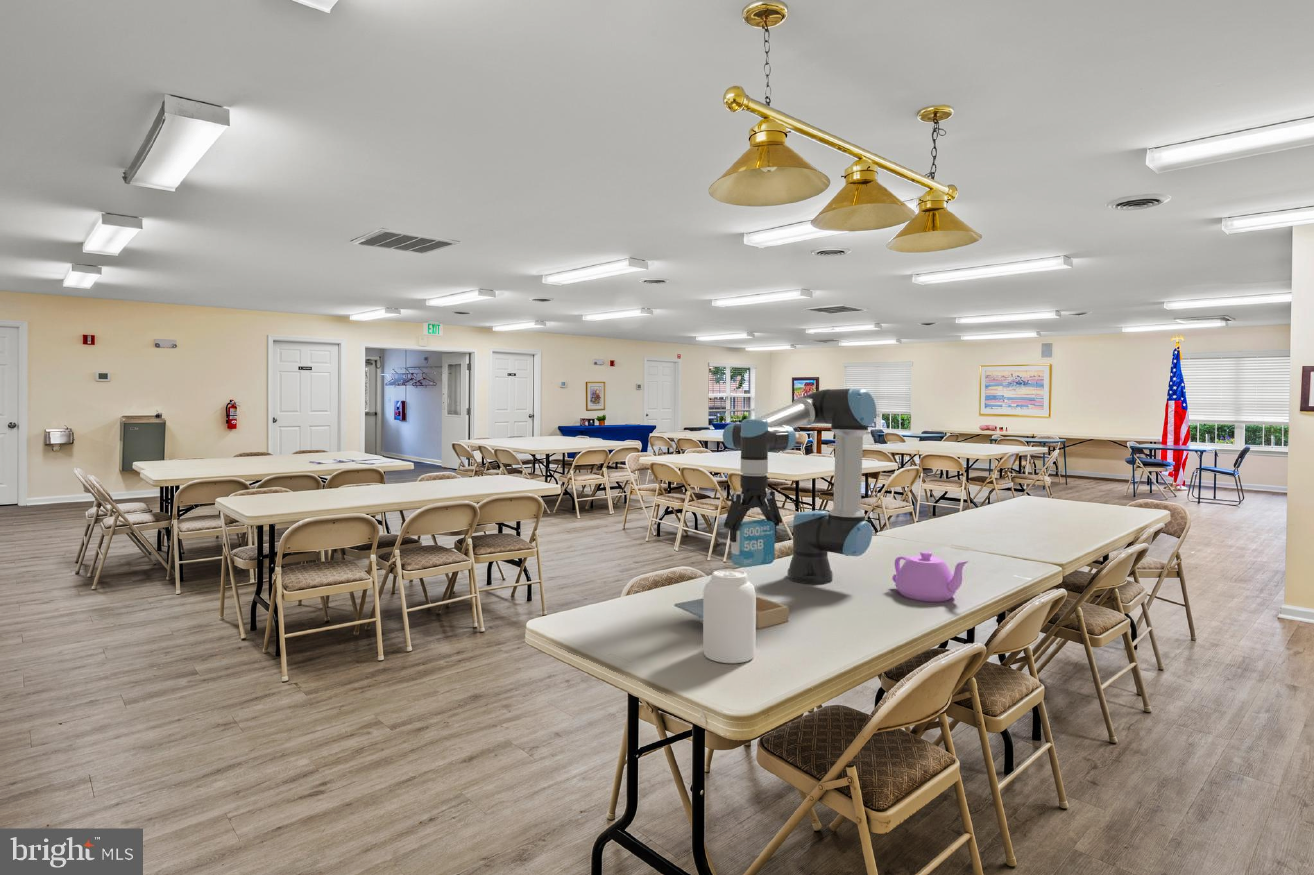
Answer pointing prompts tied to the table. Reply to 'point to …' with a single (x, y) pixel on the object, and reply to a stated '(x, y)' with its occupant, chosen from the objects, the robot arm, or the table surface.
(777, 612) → the light brown shallow tray
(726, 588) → the white bottle
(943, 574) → the teapot
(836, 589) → the table surface
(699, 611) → the lid
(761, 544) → the data package
